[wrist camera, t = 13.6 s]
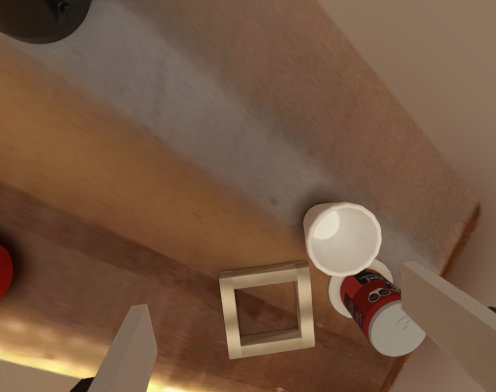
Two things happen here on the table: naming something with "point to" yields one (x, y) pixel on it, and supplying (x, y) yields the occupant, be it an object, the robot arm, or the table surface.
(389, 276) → the coaster
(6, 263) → the ceramic cup
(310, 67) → the table surface
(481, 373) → the robot arm
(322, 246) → the cup
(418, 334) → the canned food
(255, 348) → the holder
